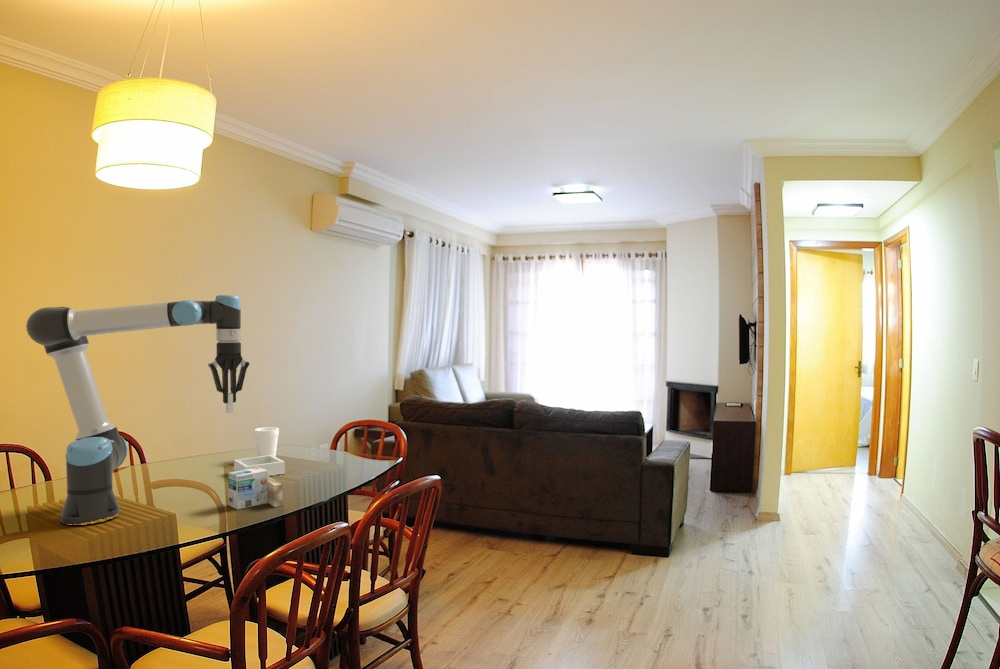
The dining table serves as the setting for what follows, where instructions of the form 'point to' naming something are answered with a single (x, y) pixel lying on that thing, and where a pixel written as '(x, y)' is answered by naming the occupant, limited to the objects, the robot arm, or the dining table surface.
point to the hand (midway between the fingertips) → (229, 412)
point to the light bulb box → (248, 488)
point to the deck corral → (261, 464)
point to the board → (274, 492)
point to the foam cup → (266, 440)
